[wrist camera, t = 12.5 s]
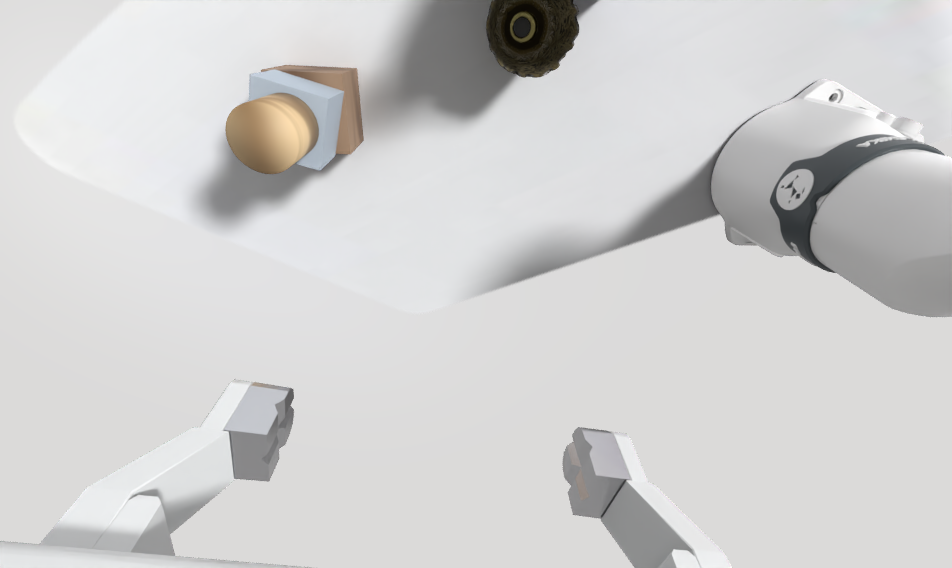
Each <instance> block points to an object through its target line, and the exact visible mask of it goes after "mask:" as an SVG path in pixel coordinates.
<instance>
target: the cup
mask: <svg viewBox="0 0 952 568" xmlns="http://www.w3.org/2000/svg"><path fill="white" fill-rule="evenodd" d="M578 12H579V10H578V7H577V6H576V5H574V4H573V0H492V2H491V5H490V9H489V14H488V17H487V23H486V30H487V37H488V40H489V47H490V50H491V52H493V53H494V55H495V58H496V60H497V61H498V63H499V64H500V65H501V66H502V67H504V69H506V70H507V71H509V72H511V73H513V74H515V73H516V74H517V75H518V76H521V77H527V76H528V77H542V76H544V75H546V74H547V73H549V72H550V71H551V70H552V71H553V70H555V69H557V68H558V67H559V66H560V64H559V62H560V61H561V59H562V58H564V57H565V55H566V53H567V52H568V51H569V50H571V49H572V48H573V46H574V42H573V41H574V40H575V38H576V37H577V36H578V33H579V24H578V22H577V17H576V16H577V15H578ZM522 17H523V18H526V19H527V20H528V21H529V23H530V31H529V33H528V34H527V35H526V36H525V37H518V36H517V35H516V34H515V33H514V29H513V26H514V23H515V21H516V20H517V19H519V18H522Z"/></svg>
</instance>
